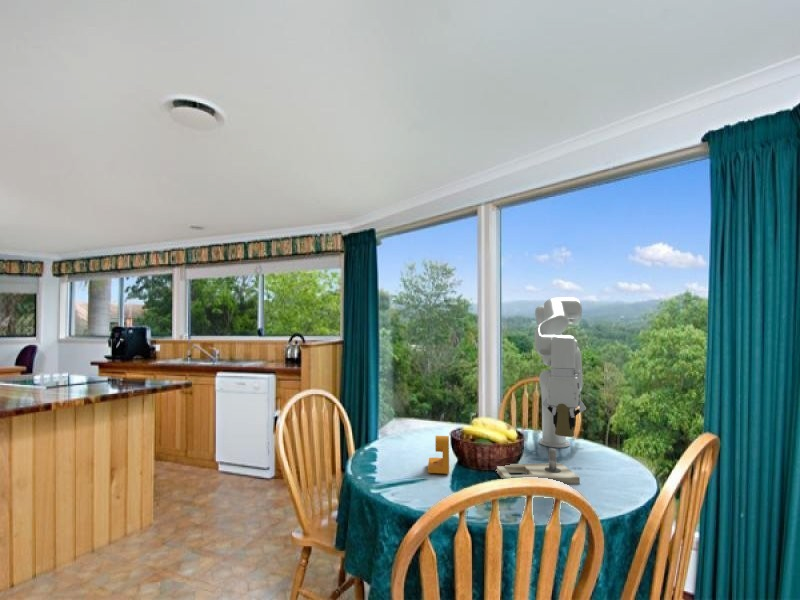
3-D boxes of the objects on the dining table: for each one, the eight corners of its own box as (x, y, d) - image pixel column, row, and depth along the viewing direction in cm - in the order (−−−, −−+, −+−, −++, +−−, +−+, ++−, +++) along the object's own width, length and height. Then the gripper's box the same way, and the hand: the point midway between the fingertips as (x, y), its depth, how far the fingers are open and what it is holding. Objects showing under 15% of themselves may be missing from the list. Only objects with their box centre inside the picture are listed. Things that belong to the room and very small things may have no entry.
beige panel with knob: (495, 470, 152) (494, 444, 153) (561, 468, 153) (561, 443, 154) (506, 484, 138) (506, 456, 139) (579, 483, 139) (579, 455, 140)
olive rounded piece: (568, 437, 140) (568, 403, 140) (551, 434, 144) (550, 401, 145) (577, 434, 144) (576, 401, 144) (560, 430, 148) (559, 398, 149)
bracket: (429, 464, 158) (429, 431, 159) (448, 465, 157) (448, 432, 158) (427, 475, 147) (427, 439, 148) (449, 476, 147) (448, 440, 147)
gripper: (592, 373, 143) (593, 429, 142) (541, 370, 153) (542, 422, 152) (587, 376, 137) (588, 434, 136) (534, 372, 147) (535, 426, 146)
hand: (564, 427), depth 144 cm, fingers closed on olive rounded piece, 4 cm apart
